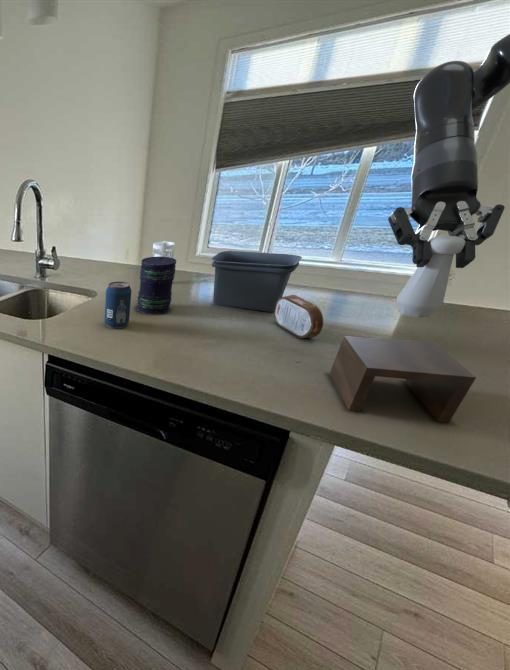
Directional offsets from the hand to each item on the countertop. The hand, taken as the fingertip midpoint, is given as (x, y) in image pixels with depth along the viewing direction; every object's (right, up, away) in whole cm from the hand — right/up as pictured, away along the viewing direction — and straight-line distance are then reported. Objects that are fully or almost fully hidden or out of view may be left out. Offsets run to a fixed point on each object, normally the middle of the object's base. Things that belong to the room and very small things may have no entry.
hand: (443, 264), depth 65 cm
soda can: (-38, -2, +52) cm, 65 cm away
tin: (+4, -6, +39) cm, 40 cm away
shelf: (+2, -22, +12) cm, 25 cm away
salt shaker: (+1, -7, +6) cm, 9 cm away
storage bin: (+3, +5, +58) cm, 59 cm away
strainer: (-13, +18, +83) cm, 86 cm away
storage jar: (-24, +4, +61) cm, 65 cm away
